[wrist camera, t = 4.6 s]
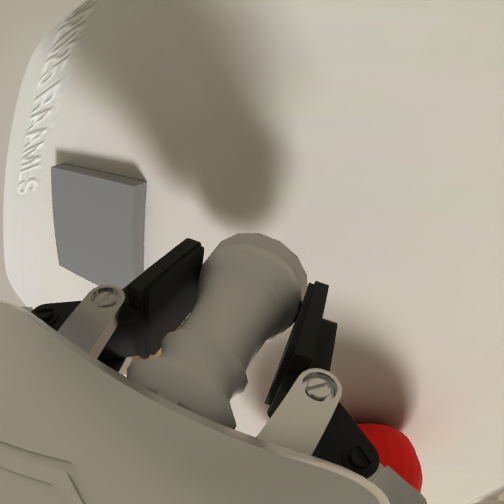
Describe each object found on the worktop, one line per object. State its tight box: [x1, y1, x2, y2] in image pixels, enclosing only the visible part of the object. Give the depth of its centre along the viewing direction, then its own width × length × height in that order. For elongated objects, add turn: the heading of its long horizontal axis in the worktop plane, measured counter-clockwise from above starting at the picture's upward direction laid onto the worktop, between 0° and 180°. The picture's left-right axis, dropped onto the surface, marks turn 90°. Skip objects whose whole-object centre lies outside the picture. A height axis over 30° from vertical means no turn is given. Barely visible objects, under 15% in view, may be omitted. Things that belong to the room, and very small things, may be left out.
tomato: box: [357, 423, 422, 493], centre depth 16 cm, size 12×12×10 cm
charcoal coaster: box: [51, 163, 147, 290], centre depth 18 cm, size 8×8×1 cm
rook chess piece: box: [127, 233, 307, 429], centre depth 9 cm, size 4×4×8 cm
